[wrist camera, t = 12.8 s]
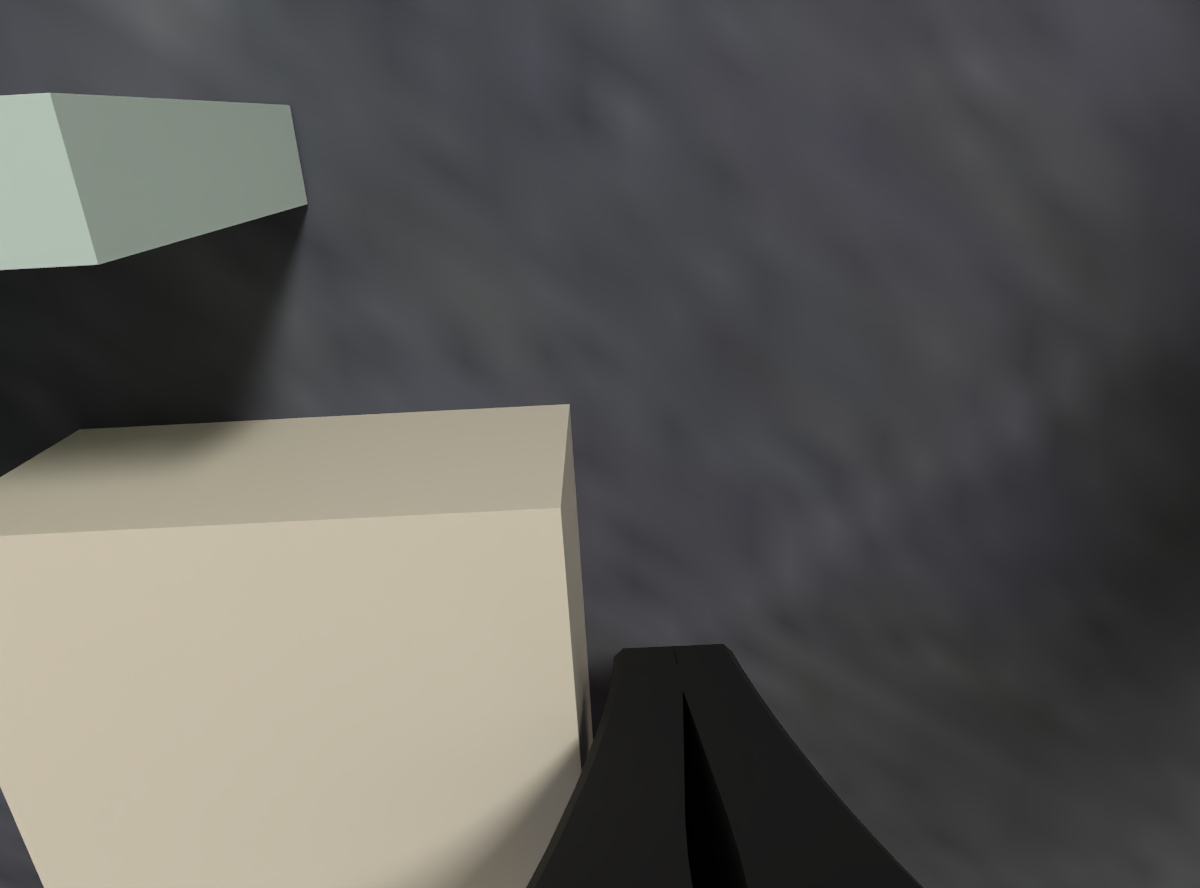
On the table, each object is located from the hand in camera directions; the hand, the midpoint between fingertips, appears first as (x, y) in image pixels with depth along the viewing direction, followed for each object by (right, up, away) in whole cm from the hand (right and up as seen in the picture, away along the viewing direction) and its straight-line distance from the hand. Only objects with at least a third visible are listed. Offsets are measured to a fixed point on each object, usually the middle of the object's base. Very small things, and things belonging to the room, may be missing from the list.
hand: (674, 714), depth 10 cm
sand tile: (-4, +1, +1) cm, 4 cm away
